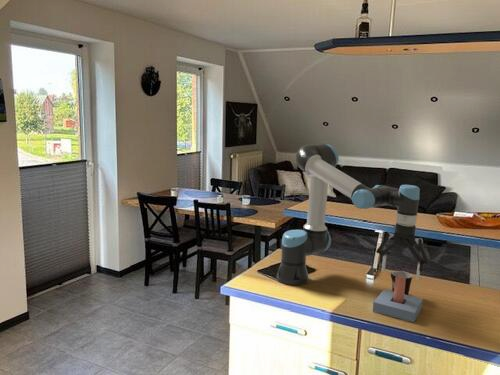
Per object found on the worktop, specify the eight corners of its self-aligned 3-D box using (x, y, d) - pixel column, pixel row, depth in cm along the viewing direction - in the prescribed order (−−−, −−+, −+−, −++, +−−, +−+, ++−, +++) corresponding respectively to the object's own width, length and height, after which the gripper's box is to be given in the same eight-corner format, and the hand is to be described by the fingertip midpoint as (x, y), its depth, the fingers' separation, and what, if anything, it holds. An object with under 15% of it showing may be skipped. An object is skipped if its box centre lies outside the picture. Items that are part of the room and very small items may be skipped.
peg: (391, 310, 172) (394, 277, 170) (393, 306, 176) (396, 274, 173) (401, 312, 170) (404, 279, 168) (403, 309, 174) (406, 276, 171)
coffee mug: (411, 300, 182) (414, 278, 180) (391, 298, 183) (393, 276, 182) (407, 290, 193) (409, 269, 191) (387, 288, 195) (389, 267, 193)
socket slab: (372, 311, 171) (373, 302, 170) (383, 297, 184) (384, 289, 183) (413, 322, 162) (414, 312, 161) (421, 307, 175) (422, 298, 175)
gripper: (371, 220, 170) (366, 269, 174) (437, 231, 157) (431, 285, 161) (377, 216, 177) (372, 264, 180) (441, 227, 164) (434, 279, 167)
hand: (399, 274), depth 171 cm, fingers open, 13 cm apart
